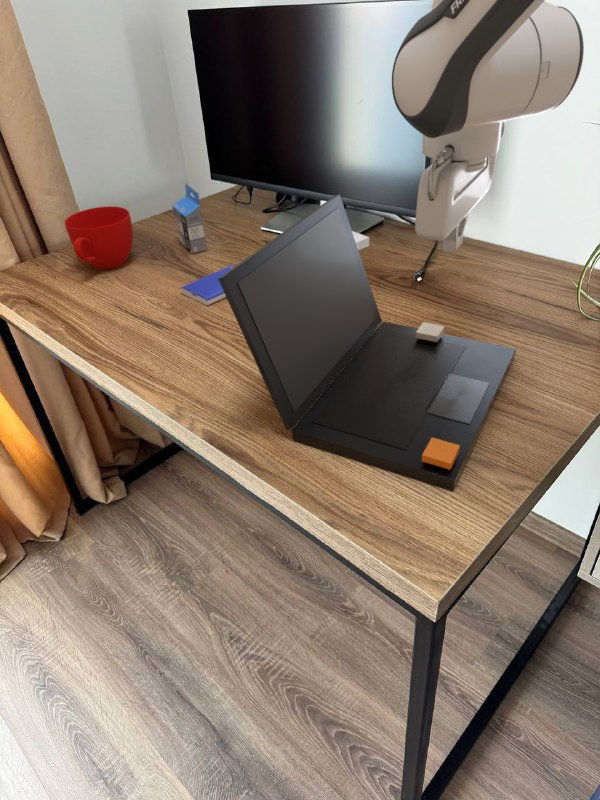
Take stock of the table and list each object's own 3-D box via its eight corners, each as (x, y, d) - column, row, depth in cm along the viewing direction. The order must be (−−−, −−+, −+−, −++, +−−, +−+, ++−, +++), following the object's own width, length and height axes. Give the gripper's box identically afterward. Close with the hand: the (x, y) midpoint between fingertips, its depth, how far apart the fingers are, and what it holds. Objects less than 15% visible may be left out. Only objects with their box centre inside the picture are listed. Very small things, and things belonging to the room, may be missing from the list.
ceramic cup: (57, 284, 118) (41, 236, 112) (95, 250, 131) (82, 206, 125) (117, 285, 116) (103, 237, 110) (149, 251, 129) (139, 206, 123)
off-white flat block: (444, 331, 90) (444, 326, 89) (436, 342, 88) (437, 336, 87) (422, 327, 91) (423, 321, 91) (415, 337, 89) (415, 332, 88)
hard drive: (231, 264, 117) (180, 286, 110) (258, 274, 112) (206, 298, 105) (232, 271, 118) (181, 293, 111) (259, 282, 113) (208, 306, 106)
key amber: (459, 451, 68) (460, 445, 68) (450, 470, 66) (451, 463, 65) (431, 443, 70) (431, 437, 69) (421, 461, 67) (422, 454, 67)
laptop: (514, 358, 87) (516, 348, 86) (453, 491, 66) (454, 479, 65) (382, 331, 96) (382, 320, 95) (292, 440, 75) (291, 429, 74)
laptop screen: (340, 193, 86) (335, 195, 86) (223, 277, 65) (217, 278, 66) (382, 321, 95) (377, 322, 95) (291, 429, 74) (286, 429, 75)
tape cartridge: (178, 241, 132) (167, 186, 125) (194, 237, 134) (185, 182, 126) (191, 254, 126) (181, 197, 119) (208, 250, 127) (199, 193, 120)
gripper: (460, 161, 61) (450, 284, 69) (509, 118, 74) (496, 225, 83) (403, 158, 63) (400, 276, 71) (460, 117, 77) (452, 220, 85)
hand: (452, 248), depth 77 cm, fingers closed
